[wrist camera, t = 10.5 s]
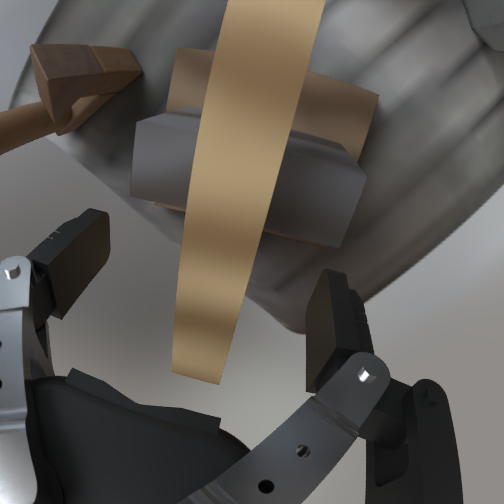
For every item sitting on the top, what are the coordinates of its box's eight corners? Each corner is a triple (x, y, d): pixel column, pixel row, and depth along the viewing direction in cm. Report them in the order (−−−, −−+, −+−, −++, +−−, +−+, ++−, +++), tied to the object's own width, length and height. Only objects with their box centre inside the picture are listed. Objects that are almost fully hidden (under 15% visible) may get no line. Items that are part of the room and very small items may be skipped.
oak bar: (254, -8, 12) (240, -41, 7) (319, 6, 12) (331, -23, 7) (189, 324, 24) (171, 372, 20) (230, 335, 24) (219, 385, 20)
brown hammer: (145, 72, 25) (4, 88, 10) (76, 130, 28) (-48, 191, 13) (129, 46, 23) (-14, 45, 8) (63, 106, 27) (-64, 154, 12)
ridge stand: (185, 49, 23) (122, 34, 13) (373, 94, 24) (426, 104, 14) (161, 197, 32) (107, 256, 22) (323, 238, 32) (336, 315, 22)
